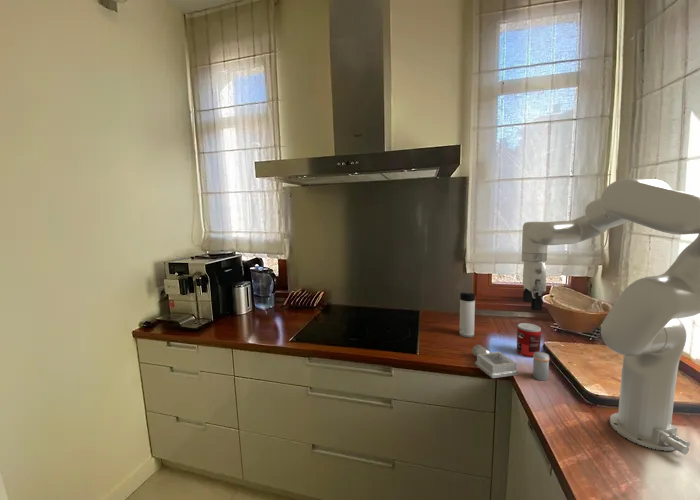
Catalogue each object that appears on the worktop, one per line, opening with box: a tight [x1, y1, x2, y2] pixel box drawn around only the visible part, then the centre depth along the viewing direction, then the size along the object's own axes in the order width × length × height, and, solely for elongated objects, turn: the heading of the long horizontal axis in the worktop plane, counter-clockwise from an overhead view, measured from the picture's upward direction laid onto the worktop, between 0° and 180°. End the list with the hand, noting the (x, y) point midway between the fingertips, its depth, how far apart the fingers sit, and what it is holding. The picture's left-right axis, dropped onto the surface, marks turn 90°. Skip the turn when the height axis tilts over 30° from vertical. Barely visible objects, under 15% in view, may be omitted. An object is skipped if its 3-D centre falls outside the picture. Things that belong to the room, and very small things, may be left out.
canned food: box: [516, 322, 542, 359], centre depth 120 cm, size 8×8×11 cm
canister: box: [532, 351, 550, 382], centre depth 103 cm, size 5×5×8 cm
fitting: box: [472, 344, 519, 379], centre depth 112 cm, size 16×10×4 cm, turn 11°
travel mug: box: [459, 292, 476, 339], centre depth 139 cm, size 6×7×20 cm
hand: (531, 305), depth 108 cm, fingers open, 9 cm apart
